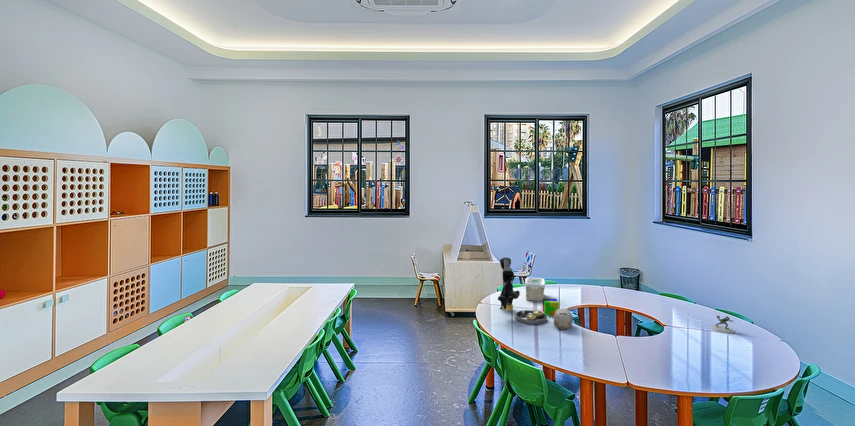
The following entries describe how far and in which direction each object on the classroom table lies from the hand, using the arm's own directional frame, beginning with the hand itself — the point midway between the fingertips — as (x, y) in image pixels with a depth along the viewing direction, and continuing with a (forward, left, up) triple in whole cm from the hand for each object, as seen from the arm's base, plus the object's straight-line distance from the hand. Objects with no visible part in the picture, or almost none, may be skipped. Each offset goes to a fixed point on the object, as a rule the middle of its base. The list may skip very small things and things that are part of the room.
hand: (507, 307), depth 284 cm
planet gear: (0, 0, -1) cm, 1 cm away
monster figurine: (+122, +70, -8) cm, 141 cm away
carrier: (+14, +9, -8) cm, 18 cm away
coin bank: (+37, +10, -8) cm, 39 cm away
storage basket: (-8, +61, -8) cm, 62 cm away
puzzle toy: (+20, +30, -8) cm, 37 cm away
